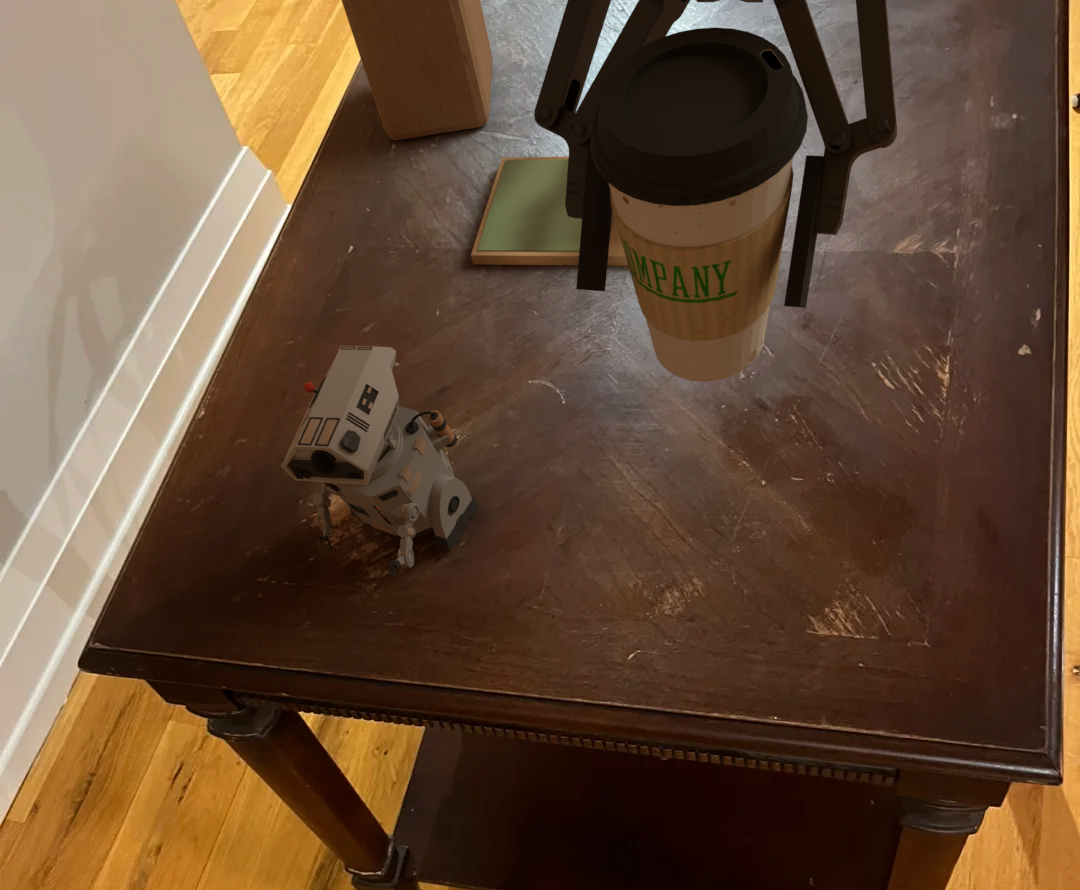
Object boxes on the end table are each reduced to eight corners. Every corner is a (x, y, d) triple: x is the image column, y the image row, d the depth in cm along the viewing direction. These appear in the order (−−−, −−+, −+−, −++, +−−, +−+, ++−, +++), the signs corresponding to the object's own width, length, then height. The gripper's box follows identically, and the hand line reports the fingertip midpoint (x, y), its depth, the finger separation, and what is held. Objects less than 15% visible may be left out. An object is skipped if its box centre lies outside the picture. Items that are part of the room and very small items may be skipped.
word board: (777, 163, 91) (778, 94, 86) (759, 267, 87) (759, 201, 81) (503, 167, 97) (489, 103, 92) (472, 264, 92) (455, 203, 87)
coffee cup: (597, 313, 64) (555, 68, 50) (755, 251, 64) (754, -10, 50) (658, 432, 59) (630, 198, 46) (828, 366, 59) (848, 112, 46)
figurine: (313, 576, 81) (226, 444, 68) (392, 460, 84) (324, 312, 71) (414, 617, 78) (344, 486, 64) (492, 494, 81) (440, 346, 68)
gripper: (1028, -231, 47) (922, 317, 55) (538, -206, 53) (509, 283, 62) (1042, -322, 40) (919, 317, 49) (481, -281, 47) (456, 279, 55)
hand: (690, 298), depth 55 cm, fingers closed on coffee cup, 10 cm apart
